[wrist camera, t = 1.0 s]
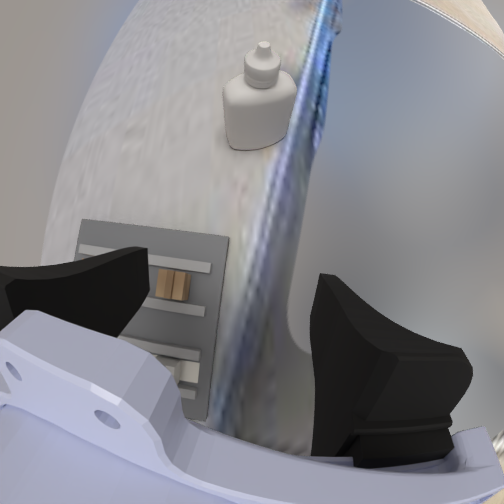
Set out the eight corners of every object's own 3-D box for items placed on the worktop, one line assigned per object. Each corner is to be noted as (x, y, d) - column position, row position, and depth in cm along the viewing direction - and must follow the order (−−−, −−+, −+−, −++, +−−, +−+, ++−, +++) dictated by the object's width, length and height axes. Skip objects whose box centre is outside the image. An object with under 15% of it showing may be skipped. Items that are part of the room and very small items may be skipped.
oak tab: (187, 299, 23) (180, 300, 20) (164, 295, 23) (153, 296, 20) (191, 274, 23) (184, 272, 20) (167, 271, 23) (157, 268, 20)
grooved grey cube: (179, 382, 22) (171, 393, 19) (156, 377, 22) (145, 387, 19) (181, 359, 22) (173, 368, 19) (157, 355, 22) (146, 363, 19)
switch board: (207, 416, 23) (204, 426, 21) (72, 381, 23) (60, 386, 20) (229, 239, 25) (228, 234, 23) (87, 221, 25) (76, 216, 23)
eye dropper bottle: (232, 112, 27) (229, 21, 15) (288, 122, 27) (311, 34, 15) (222, 148, 26) (211, 60, 14) (280, 159, 26) (305, 75, 14)
